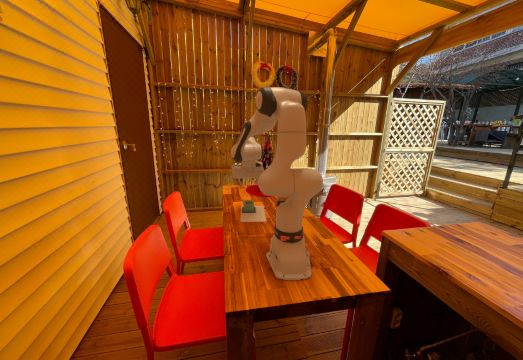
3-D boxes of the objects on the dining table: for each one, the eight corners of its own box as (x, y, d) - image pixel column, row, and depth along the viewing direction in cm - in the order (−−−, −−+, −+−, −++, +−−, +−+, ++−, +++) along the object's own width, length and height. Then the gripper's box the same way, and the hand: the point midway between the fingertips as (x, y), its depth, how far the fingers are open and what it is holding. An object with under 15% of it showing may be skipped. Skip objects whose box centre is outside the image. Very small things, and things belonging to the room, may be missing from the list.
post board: (266, 223, 123) (266, 211, 121) (240, 224, 122) (240, 212, 120) (263, 207, 146) (263, 197, 144) (241, 208, 145) (241, 197, 143)
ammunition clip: (276, 208, 145) (277, 191, 142) (276, 207, 147) (276, 190, 144) (292, 207, 147) (292, 190, 144) (291, 206, 148) (291, 190, 145)
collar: (253, 211, 135) (253, 204, 134) (243, 211, 134) (243, 204, 133) (253, 207, 141) (253, 200, 140) (243, 207, 141) (243, 200, 139)
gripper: (230, 164, 126) (231, 186, 130) (265, 164, 127) (264, 186, 131) (231, 162, 132) (232, 183, 136) (264, 162, 134) (264, 183, 137)
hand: (248, 185), depth 133 cm, fingers open, 8 cm apart
